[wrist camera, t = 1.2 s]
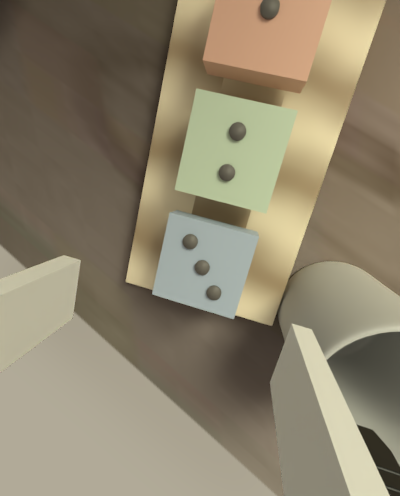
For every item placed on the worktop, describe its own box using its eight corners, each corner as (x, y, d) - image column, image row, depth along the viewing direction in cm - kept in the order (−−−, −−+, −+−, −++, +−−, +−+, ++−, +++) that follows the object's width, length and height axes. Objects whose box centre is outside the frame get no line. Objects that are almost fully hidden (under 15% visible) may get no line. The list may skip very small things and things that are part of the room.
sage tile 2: (206, 108, 20) (195, 87, 16) (287, 126, 19) (298, 109, 15) (187, 189, 21) (173, 189, 17) (262, 208, 21) (266, 214, 17)
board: (193, -28, 20) (187, -52, 18) (377, 3, 18) (392, -19, 16) (134, 274, 26) (125, 281, 24) (269, 315, 24) (271, 326, 22)
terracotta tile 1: (233, -13, 18) (229, -73, 14) (324, 3, 17) (348, -54, 13) (211, 86, 19) (201, 58, 15) (294, 104, 19) (307, 80, 15)
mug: (298, 364, 25) (338, 494, 14) (261, 282, 24) (273, 358, 13) (442, 320, 22) (625, 442, 11) (406, 225, 21) (571, 263, 10)
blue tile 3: (183, 208, 22) (168, 212, 18) (256, 227, 21) (259, 237, 17) (167, 276, 23) (150, 295, 19) (235, 296, 23) (233, 320, 18)
